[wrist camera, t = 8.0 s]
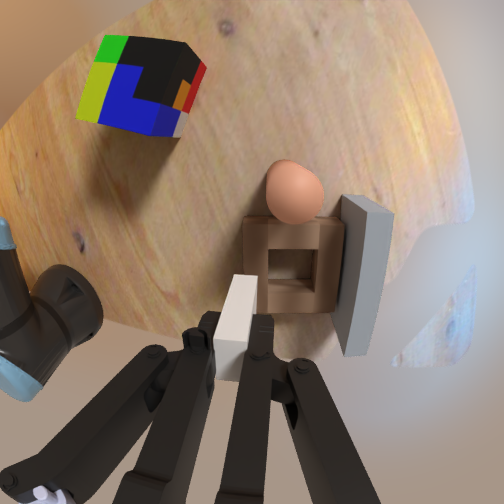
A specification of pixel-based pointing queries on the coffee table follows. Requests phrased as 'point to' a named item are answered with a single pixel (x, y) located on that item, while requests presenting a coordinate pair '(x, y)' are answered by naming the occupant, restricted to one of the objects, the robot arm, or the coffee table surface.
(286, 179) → the dowel
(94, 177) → the coffee table surface
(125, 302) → the coffee table surface
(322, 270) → the block
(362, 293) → the board
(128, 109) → the puzzle toy
